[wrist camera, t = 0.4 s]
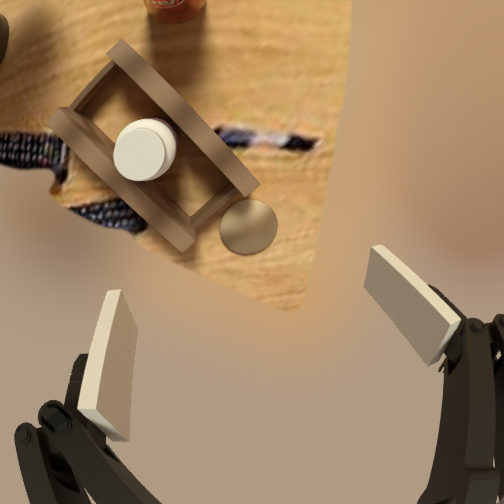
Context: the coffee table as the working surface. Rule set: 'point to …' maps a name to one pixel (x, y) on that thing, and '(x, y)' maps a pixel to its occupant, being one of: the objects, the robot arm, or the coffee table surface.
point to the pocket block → (147, 192)
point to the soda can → (174, 10)
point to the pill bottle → (146, 148)
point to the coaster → (248, 226)
